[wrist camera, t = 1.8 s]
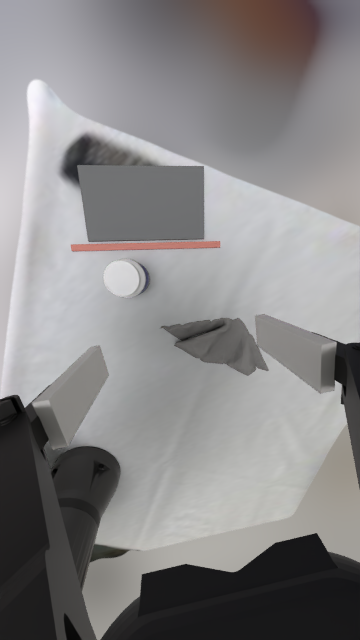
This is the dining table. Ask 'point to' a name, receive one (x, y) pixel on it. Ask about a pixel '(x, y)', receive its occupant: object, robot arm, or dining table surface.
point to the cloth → (220, 343)
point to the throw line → (145, 246)
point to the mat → (142, 202)
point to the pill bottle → (126, 278)
